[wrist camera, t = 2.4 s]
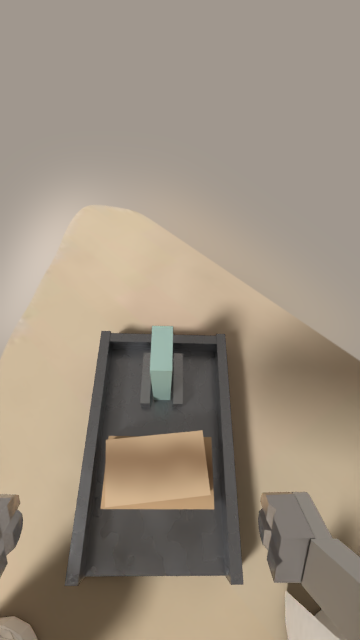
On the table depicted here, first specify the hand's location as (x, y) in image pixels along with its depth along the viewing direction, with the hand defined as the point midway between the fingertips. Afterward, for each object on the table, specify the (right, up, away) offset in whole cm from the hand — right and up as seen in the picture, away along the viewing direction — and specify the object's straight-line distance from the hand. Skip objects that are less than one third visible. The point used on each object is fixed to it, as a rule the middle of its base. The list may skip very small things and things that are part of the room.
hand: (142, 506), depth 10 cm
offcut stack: (-1, -9, +19) cm, 21 cm away
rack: (-1, -6, +21) cm, 22 cm away
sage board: (-1, -1, +24) cm, 24 cm away
